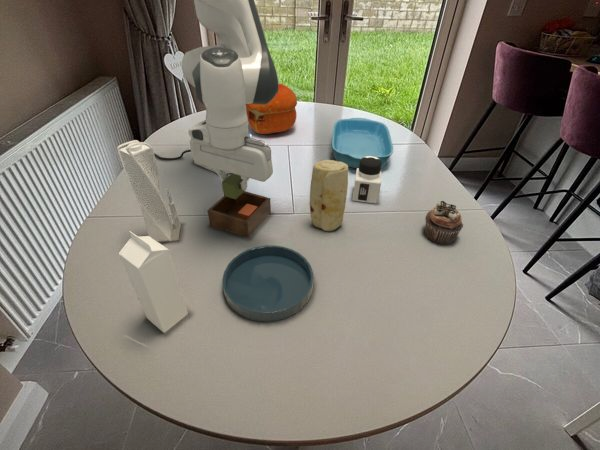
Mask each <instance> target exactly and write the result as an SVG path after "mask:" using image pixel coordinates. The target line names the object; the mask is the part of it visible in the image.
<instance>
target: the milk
mask: <svg viewBox="0 0 600 450" xmlns="http://www.w3.org/2000/svg"><path fill="white" fill-rule="evenodd" d="M128 233H129V236H130V238H129V239H128V240H127V242H126V243H125V245H124V246H123V247H122V248H121V250H120V251H119V252H118V255H119V257H120V260H121V262H122V265H123V267H124V269H125V272H126V274H127V276H128V279H129V281H130V283H131V286H132V287H133V289H134V292H135V294H136V297H137V299H138V301H139V304H140V306H141V308H142V310H143V312H144V315H145V317H146V319H147V320H148V321H149V322H151V323H152V325H154V326H155V327H157V328H158V329H159V330H160V331H161V332H162V333H163V334H165V333H166V332H167V331H169V330H170V329H171V328H172V327H174V326H175V325H176V324H178V323H180V321H181V320H182V319H184V318H185V317H186V316H187V315H188V314H189V311H188V308H187V305H186V301H185V298H184V295H183V292H182V288H181V285H180V282H179V278H178V275H177V272H176V268H175V266H174V262H173V259H172V256H171V252H170V249H168V247H166V246H164V245H163V244H162V243H158V242H157V241H155V240H154V239H152V238H151V237H150V236H148V235H144V236H143V235H142V236H138V235H136V234H135V233H134V232H132V231H131V230H129V231H128Z"/></svg>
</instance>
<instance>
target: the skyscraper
mask: <svg viewBox="0 0 600 450" xmlns="http://www.w3.org/2000/svg"><path fill="white" fill-rule="evenodd" d="M116 150H117V152H118V156H119V159H120V163H121V165H122V169H123V171H124V174H125V177H126V179H127V181H128V184H129V187H130V188H131V190H132V193H133V195H134V196H135V198H136V200H137V201H138V203H139V205H140V206H139V207H140V210H141V214H142V217H143V218H142V219H143V222H144V225H145V228H146V232H147V236H150V237H151V238H152V239H154V240H155V241H157V242H158V243H160V244H162V243H174V242H179V241H180V234H181V229H182V223H181V222H180V220H179V214H178V213H177V209H176V207H175V201H173V199H172V196H171V193H170V191H169V188H166V192H167V197H168V203H167V204H168V207H169V210H168V208H167V206H166V203H165V201H164V199H163V197H162V195H161V192H160V175H159V169H158V164H157V163H158V162H157V160H156V156H155V155H154V153H155V152H154V148H153V146H152V145H151V144H149V143H147V142H144V141H139V140H137V139H134V140H130V141H126V142H124V143H121V144H119V145H118V146H117V147H116ZM169 211H170V213H169ZM170 214H171V215H170Z"/></svg>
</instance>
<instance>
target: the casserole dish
mask: <svg viewBox="0 0 600 450" xmlns="http://www.w3.org/2000/svg"><path fill="white" fill-rule="evenodd" d="M332 127H333V128H332V137H331V147H332V151H333V155H334V158H335V161H338V162H343V163H345V164H347V165H348V168H350V169H351V168H352V169H357V168H359V164H360V159H362V158H363V157H366V156H373V157H376V158H379V159H380V160H381V162H382V166H381V168H382V167H384V166H385V165H386V164H387V163H388V161H389V159H390V157H391V156H392V155H393V153H394V146H393V140H392V137H391V133H390V129H389V126H387V125H386V124H385V123H384V122H381V121H379V120H373V119H369V118H366V117H352V118H342V119H338V120H337V121H335V122H334V124H333V126H332Z"/></svg>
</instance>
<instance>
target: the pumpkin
mask: <svg viewBox="0 0 600 450" xmlns="http://www.w3.org/2000/svg"><path fill="white" fill-rule="evenodd" d="M297 105H298V98H297V96H296V94H295V92H294V91H293V89H291V88H290V87H288V86H287V85H285V84H283V83H279V86H278V93H277V94H276V96H275V97H274V98H273V99H272V100H271V101H270V102H269V103H268V104H266V105H264V104H252V103H251V104H246V111H247V117H248V125H249V126H250V127H251V129H253V131H254V132H256V133H258V134H261V135H271V134H275V133H282V132H286V131H288V130H290V129H291V128H292V127H293V126H294V125H295V124H296V121H297V116H298V115H297V108H296V107H297Z"/></svg>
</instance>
